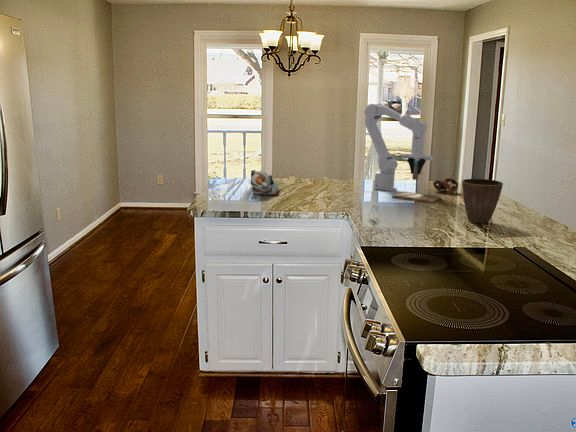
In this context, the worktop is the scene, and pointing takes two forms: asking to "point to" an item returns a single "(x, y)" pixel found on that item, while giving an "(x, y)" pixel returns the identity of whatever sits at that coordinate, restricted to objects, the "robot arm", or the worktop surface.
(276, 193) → the grey piece
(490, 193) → the plant pot
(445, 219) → the worktop surface
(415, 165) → the marker
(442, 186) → the reddish-brown lumpy part
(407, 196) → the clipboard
